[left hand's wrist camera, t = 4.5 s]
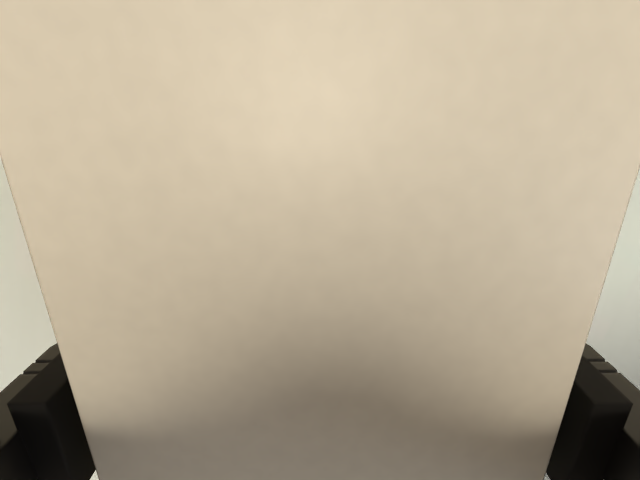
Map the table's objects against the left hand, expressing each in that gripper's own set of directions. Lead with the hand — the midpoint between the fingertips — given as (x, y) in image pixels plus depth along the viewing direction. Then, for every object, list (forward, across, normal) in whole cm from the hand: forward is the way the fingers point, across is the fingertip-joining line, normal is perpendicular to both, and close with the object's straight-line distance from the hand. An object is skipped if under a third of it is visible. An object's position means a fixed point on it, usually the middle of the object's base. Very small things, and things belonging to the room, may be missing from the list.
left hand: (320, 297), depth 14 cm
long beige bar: (+1, 0, -26) cm, 27 cm away
